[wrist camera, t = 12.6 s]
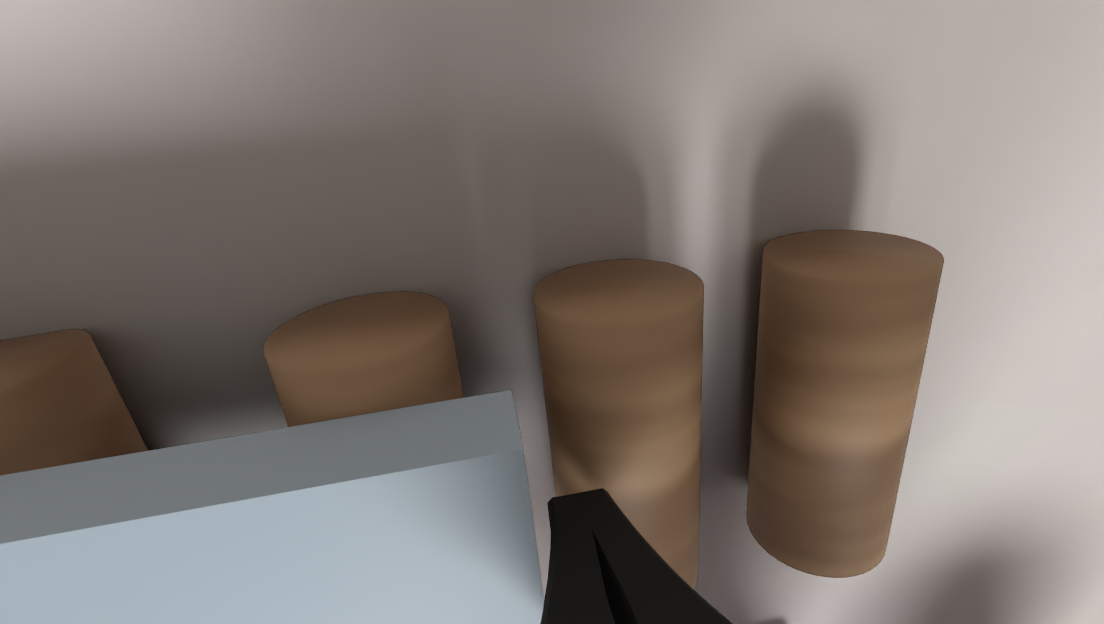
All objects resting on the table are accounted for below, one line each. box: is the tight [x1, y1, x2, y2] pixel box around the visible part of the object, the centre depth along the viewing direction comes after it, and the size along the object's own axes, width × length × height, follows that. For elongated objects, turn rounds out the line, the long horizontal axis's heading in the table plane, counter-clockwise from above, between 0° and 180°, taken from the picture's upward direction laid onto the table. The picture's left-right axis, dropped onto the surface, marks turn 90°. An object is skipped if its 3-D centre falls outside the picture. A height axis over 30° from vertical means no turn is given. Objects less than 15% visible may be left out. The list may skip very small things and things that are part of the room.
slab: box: [0, 390, 544, 624], centre depth 11 cm, size 7×12×2 cm, turn 95°
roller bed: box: [263, 230, 944, 589], centre depth 14 cm, size 9×28×4 cm, turn 95°
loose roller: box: [0, 329, 148, 476], centre depth 14 cm, size 9×4×4 cm
